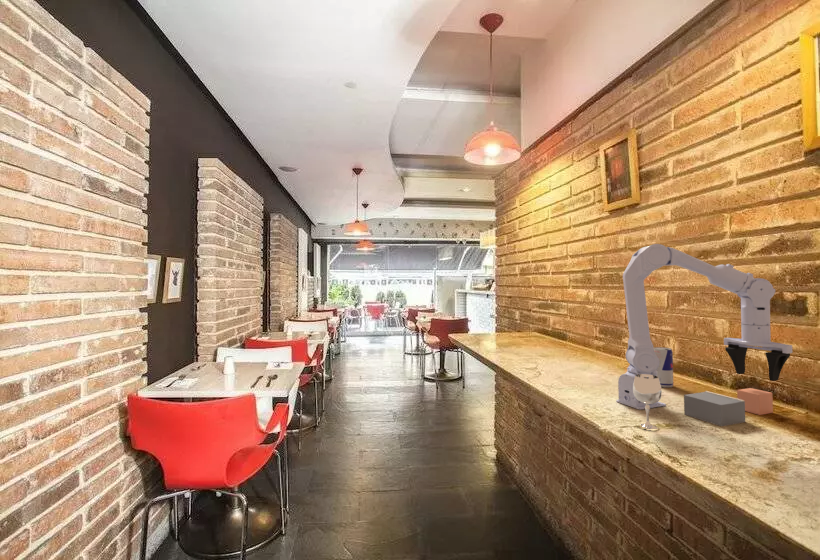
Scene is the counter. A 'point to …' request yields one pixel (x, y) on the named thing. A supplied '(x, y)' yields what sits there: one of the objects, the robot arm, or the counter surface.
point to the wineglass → (647, 393)
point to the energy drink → (665, 366)
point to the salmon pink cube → (756, 400)
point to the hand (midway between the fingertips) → (756, 376)
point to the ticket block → (714, 408)
